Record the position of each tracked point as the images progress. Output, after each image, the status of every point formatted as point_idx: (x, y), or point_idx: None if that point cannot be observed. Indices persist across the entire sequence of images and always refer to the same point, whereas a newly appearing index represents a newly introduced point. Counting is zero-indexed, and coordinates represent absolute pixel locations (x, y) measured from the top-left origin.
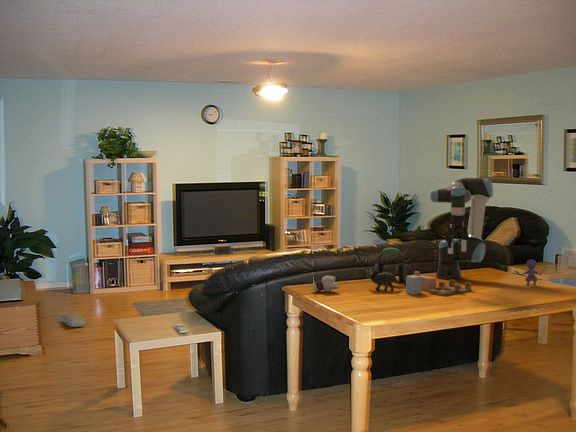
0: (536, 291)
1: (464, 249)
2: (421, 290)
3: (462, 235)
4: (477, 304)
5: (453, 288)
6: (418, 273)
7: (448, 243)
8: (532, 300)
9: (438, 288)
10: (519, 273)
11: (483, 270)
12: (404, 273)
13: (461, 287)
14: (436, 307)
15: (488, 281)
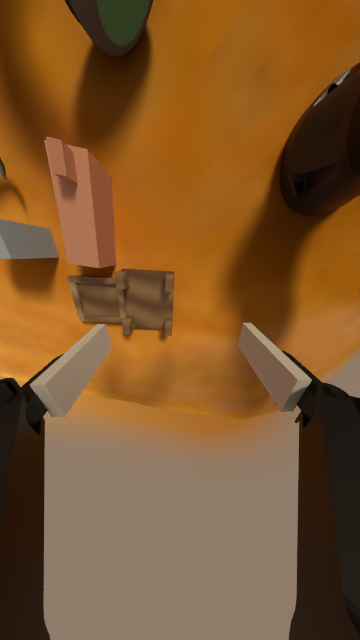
0: (240, 391)
1: (244, 347)
2: (53, 257)
3: (310, 463)
4: (90, 380)
5: (147, 299)
6: (61, 177)
7: (29, 386)
8: (176, 407)
9: (102, 283)
10: None
11: None
12: (75, 9)
13: (171, 306)
14: (9, 354)
15: (298, 300)
